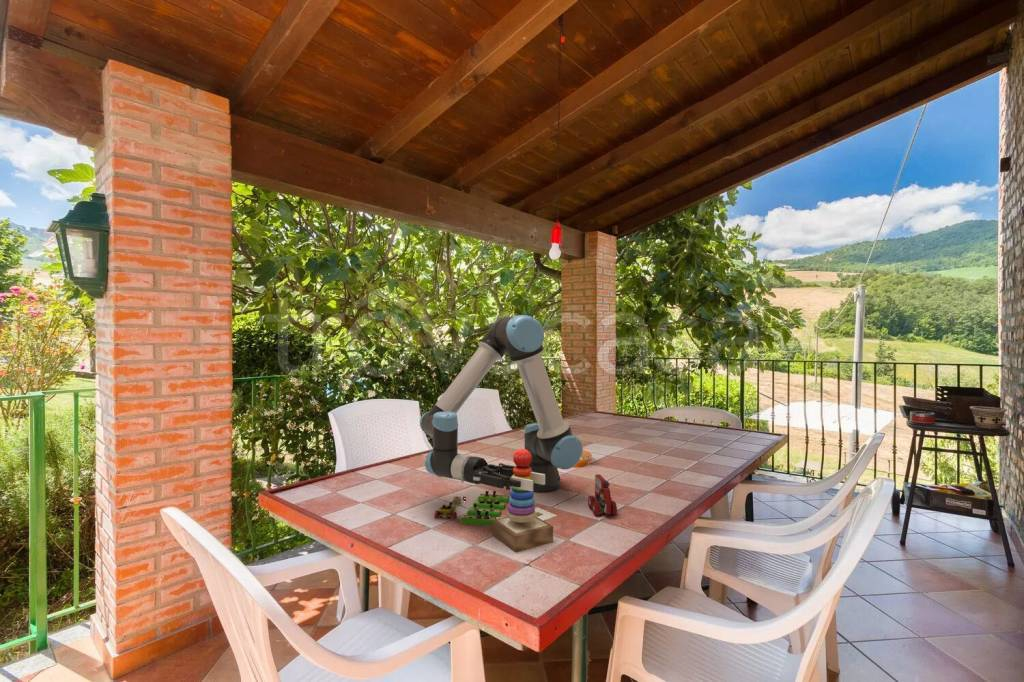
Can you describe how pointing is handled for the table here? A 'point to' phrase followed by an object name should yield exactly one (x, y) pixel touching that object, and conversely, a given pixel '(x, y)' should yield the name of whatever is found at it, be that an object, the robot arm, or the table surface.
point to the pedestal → (522, 533)
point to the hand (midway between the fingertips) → (538, 482)
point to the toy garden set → (476, 509)
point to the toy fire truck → (602, 498)
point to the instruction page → (544, 514)
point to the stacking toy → (521, 490)
